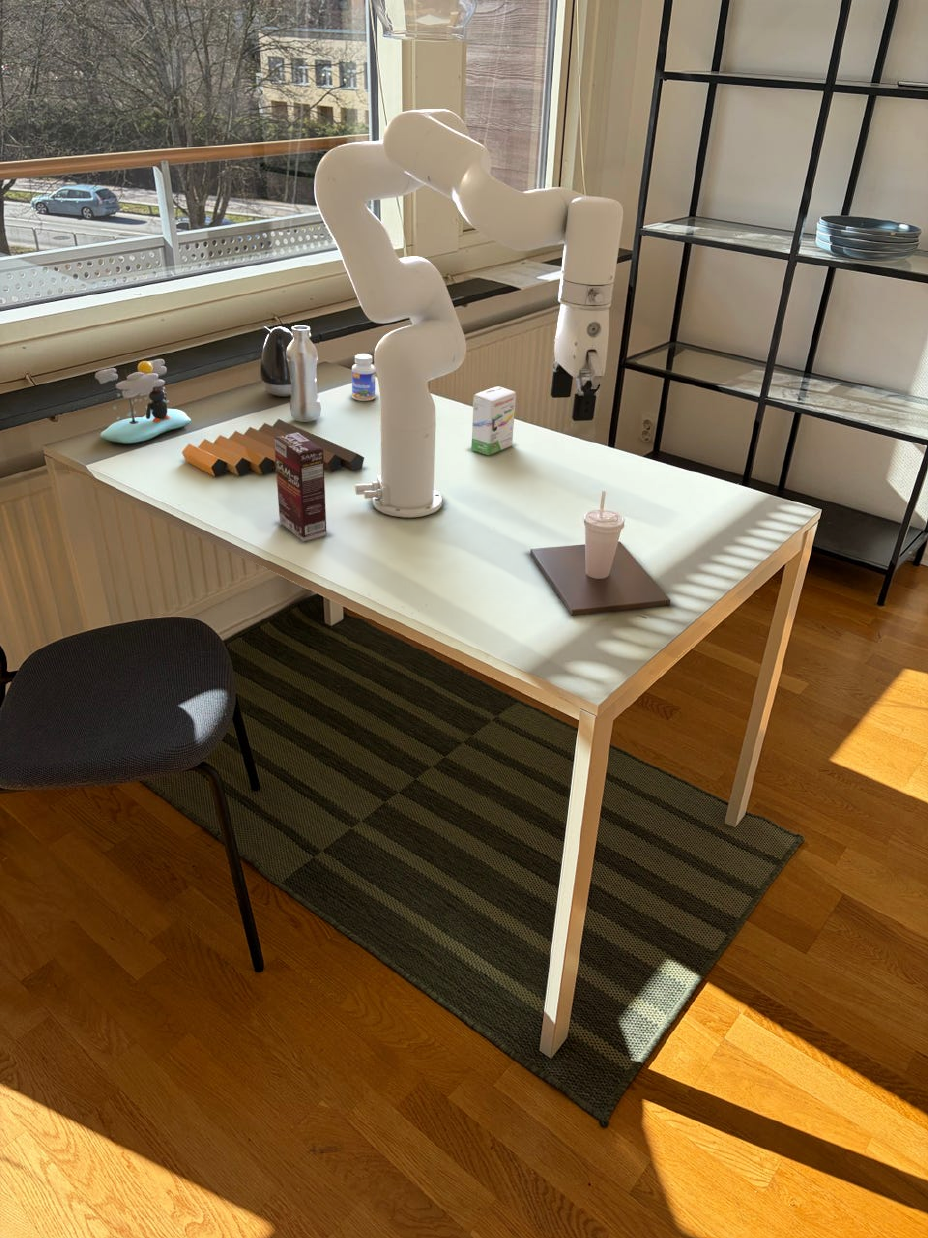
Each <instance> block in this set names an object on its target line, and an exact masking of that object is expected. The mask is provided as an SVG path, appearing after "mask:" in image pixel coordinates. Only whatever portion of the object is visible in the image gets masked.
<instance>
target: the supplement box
mask: <svg viewBox="0 0 928 1238" xmlns="http://www.w3.org/2000/svg"><path fill="white" fill-rule="evenodd" d="M274 445H275V459H276V469H275V471H276V473H275V474H276V483H277V484H276V485H277V486H276V487H277V488H276V489H277V500H278V502H277V503H278V516H279V524H280V525H282V526H283V527H284V528H286V529H287V530H289V531H290V532H291V533H293V535H295V536H296V537H297V538H298V539H300V540H301V541H302V542H303V543H304V542H307V541H311V540H315V539H318V538H322V537H325V536H327V533H328V532H327V515H326V514H327V513H326V512H327V511H326V489H325V487H326V486H325V485H326V484H325V469H324V458H323V449H322V448H321V447H318V446H317V445H315V444H314V443H312V442H311V441H309V440H308V439H306V438H305V437H303V436H302V435H300V434H299V433H298V432H296V433H291V434H286V435H282V436H278V437H275V438H274Z"/></svg>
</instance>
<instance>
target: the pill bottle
mask: <svg viewBox="0 0 928 1238" xmlns="http://www.w3.org/2000/svg"><path fill="white" fill-rule="evenodd" d="M354 363H355V364H353V365H352V366H351V397H352V399H354V400H356V401H360V402H369V401H372V400H374V399H375V398H376V370H375V365H373V364H372V363H373V355H371V354H368V353H358V354H356V355H354Z"/></svg>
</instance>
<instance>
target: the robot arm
mask: <svg viewBox="0 0 928 1238" xmlns="http://www.w3.org/2000/svg"><path fill="white" fill-rule="evenodd" d="M382 134H383V135H382V140H375V141H374V140H373V141H359V142H350V143H345V144H341V145H337V146H335V147H333V148H332V149H330V150H329V151H327V152H326V153H325V154H324V155H323V156H322V157H321V159H320V161H319V162H318V165H317V166H316V171H315V175H314V198H315V203H316V206H317V209H318V211H319V214H320V217H321V219H322V221H323V223H324V224H325V226H326V228H327V230H328V232H329V233H330V236H331V238H332V239H333V242H334V244H335V245H336V248H337V249H338V252H339V254H340V257H341V259H342V262H343V266H344V267H345V270H346V272H347V275H348V277H349V280H350V282H351V285H352V288H353V290H354V292H355V295H356V298H357V300H358V302H359V305H360V307H361V309H362V311H363V313H364V315H365V316H366V317H367V318H368V319H369V321H371V322H373V323H376V324H381V325H382V324H383V325H384V324H391V323H394V322H399V321H403V320H406V319H409V320H410V322H411V324H409V325H406V326H403V327H399V328H397V329H393V330H391V331H390V332H388V333H386V334H385V335H384V336H383V337H381V339H380V340H378V343H377V345H376V347H375V350H374V353H373V354H374V355H373V362H374V367H375V375H376V378H377V385H378V392H379V402H380V403H379V404H380V405H379V408H380V475H377V476H376V477H377V478H376V481H372V482H371V483H356V484H354V492H355V493H354V494H355V496H360V495H363V497H364V499H365V500H368V499H372V505H373V507H374V508H375V509H376V510H377V511H379V512H381V513H382V514H385V515H388V516H390V517H391V516H393V517H398V518H419V517H425V516H429V515H431V514H434V513H437V511H439V510H440V509H441V507H442V505H443V497H442V494H441V493H440V492H438V491H437V490H436V489H435V464H436V463H435V461H436V458H435V457H436V455H435V454H436V425H437V424H436V418H437V417H436V415H437V414H436V405H435V401H434V398H433V396H432V394H431V391H430V388H429V382H430V381H433V380H435V379H438V378H441V377H444V376H446V375H449V374H451V373H453V372H455V371H456V370H458V369H459V368H460V367H461V366H462V365H463V364H464V361H465V359H466V355H467V341H466V337H465V333H464V331H463V327H462V325H461V322H460V319H459V317H458V314H457V311H456V308H455V307H454V304H453V300H452V298H451V296H450V293H449V291H448V288H447V286H446V282H445V280H444V278H443V276H442V275H441V273H440V271H439V270H438V269H437V267H436V266H435V265H434V264H433V263H432V262H431V261H430V260H428V259H426V258H424V257H421V256H406V257H401V258H400V257H399V256H398V254H397V253H396V251H395V248H394V246H393V244H392V240H391V237H390V235H389V233H388V231H387V229H386V227H385V226H384V224H383V223H382V222H381V221H380V219H379V218H378V217H377V216H376V215H375V214H374V213H373V212H372V211H371V210H370V209H369V207H368V205H367V203H368V202H369V201H370V202H371V201H380V200H385V199H392V198H400V197H403V196H406V195H409V194H411V193H414V192H415V191H418V190H419V189H421V188H422V187H425V186H427V187H429V188H431V189H432V190H434V191H436V192H438V193H439V194H441V195H443V196H445V197H446V198H448V199H449V200H451V201H454V203H455V204H456V207H457V208H458V211H459V212H460V214H461V215H462V217H463V218H464V219H465V221H466V222H467V223H468V225H470V226H471V228H473V229H475V230H476V231H477V232H478V233H480V234H482V235H484V236H486V237H487V238H489V239H490V240H493V241H495V242H496V243H498V244H500V245H501V246H504V247H506V248H508V249H511V250H515V251H519V252H529V251H534V250H537V249H542V248H546V247H552V246H558V245H563V244H564V245H563V252H562V253H563V254H562V261H561V262H562V263H561V271H560V281H559V289H558V297H557V302H558V303H560V306H559V313H558V317H557V324H556V329H555V336H554V349H553V358H554V362H553V364H552V370H553V371H552V376H551V377H552V378H551V386H550V394H549V395H550V397H551V398H552V399H560V398H561V399H564V398H570V397H571V395H572V390H573V381H574V379H575V383H576V390H577V392H576V393H574V395H573V396H574V397H573V405H572V414H571V419H572V421H573V422H585V421H586V422H587V421H588V422H589V421H592V420H593V419H594V418H595V417H594V416H595V410H596V402H597V396H598V395H599V389H600V387H601V381H602V379H603V377H604V376H605V373H606V366H607V357H608V347H609V335H610V334H609V333H610V310H609V308H610V307H611V306H612V299H613V292H614V285H615V278H616V277H615V276H616V271H617V262H618V256H619V249H620V242H621V241H620V240H621V237H622V236H621V234H622V228H623V220H624V209H623V208H624V207H623V205H622V204H621V202H619V201H618V200H616V199H612V198H609V197H602V196H588V195H587V194H584V193H580V192H578V191H576V190H573V189H571V188H567V187H564V186H555V187H547V188H537V189H531V190H526V191H525V190H524V191H521V190H519V189H516V188H514V187H512V186H510V185H508V184H507V183H504V182H503V181H501V180H499V179H497V178H496V177H494V176H493V175H491V171H492V157H491V153H490V151H489V150H488V149H487V147H486V146H485V145H483V144H481V143H480V142H477V141H475V140H474V139H472V138H470V133H469V130H468V127H467V125H466V123H465V121H463V119H462V118H461V117H460V116H459V115H458V114H457V113H454V112H453V111H450V110H448V109H442V108H439V109H438V108H437V109H413V110H407V111H402V112H400V113H399V114H396V115H395V116H394V117H392V118H391V120H390V121H389V122H388V123H387V124H386V126H385V128H384V131H383V133H382ZM584 380H586V382H584Z"/></svg>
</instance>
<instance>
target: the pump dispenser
mask: <svg viewBox="0 0 928 1238" xmlns="http://www.w3.org/2000/svg"><path fill="white" fill-rule="evenodd" d="M261 331H262V332H263V333H264V334H265V335H266V338H265V341H264V344H263V348H262V352H261V357H260V366H259V379H260V381H261V382H262V385H263V388H265V390H266V391H267V392H268V393H270V394H271V395H273V396H276V397H291V378H290V371H289V366H288V361H287V356H286V351H287V348H288V346H289V344H290V343H291V341H292V340H293V337H292V331H290V330H289V329H288V328H286V327H283V326H277V327H274V328H271V329H269V328H268V327H266V326H263V327H262V328H261Z"/></svg>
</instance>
